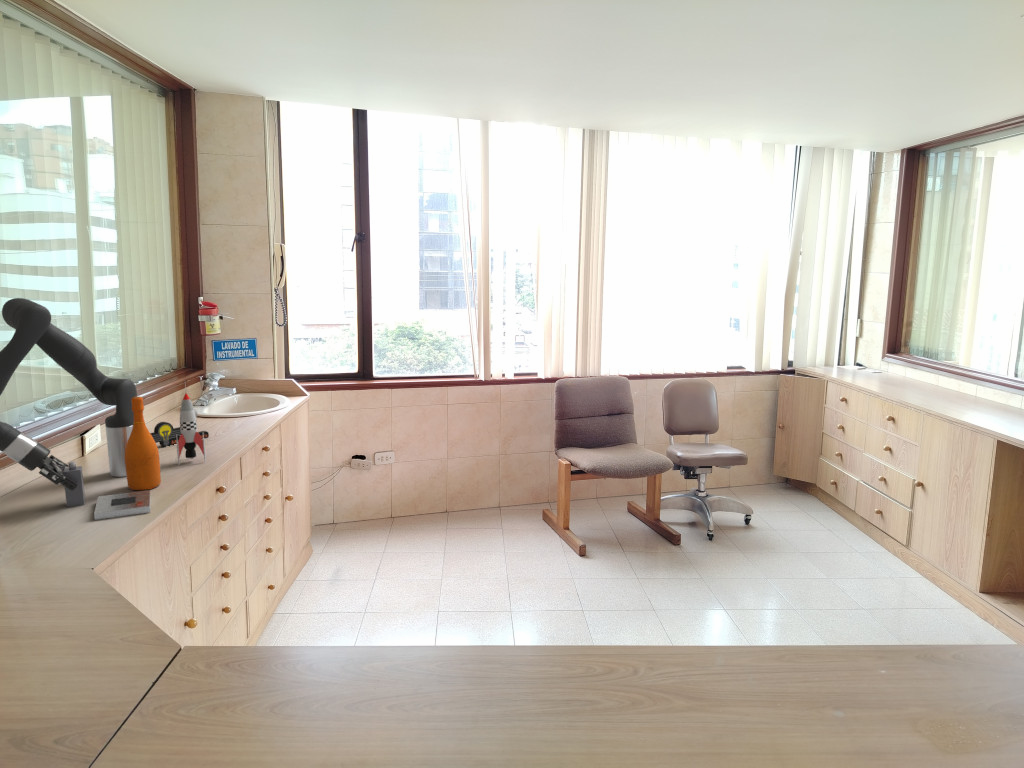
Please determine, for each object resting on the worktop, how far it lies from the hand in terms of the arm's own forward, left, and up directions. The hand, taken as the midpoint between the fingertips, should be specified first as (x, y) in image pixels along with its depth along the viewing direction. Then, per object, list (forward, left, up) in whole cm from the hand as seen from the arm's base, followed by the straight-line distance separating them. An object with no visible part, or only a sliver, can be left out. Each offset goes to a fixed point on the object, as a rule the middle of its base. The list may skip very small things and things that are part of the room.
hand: (76, 483), depth 207 cm
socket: (+13, +9, -6) cm, 17 cm away
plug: (0, -1, -6) cm, 6 cm away
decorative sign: (-54, +44, -7) cm, 70 cm away
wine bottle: (-4, +19, -6) cm, 21 cm away
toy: (-23, +39, -6) cm, 46 cm away
